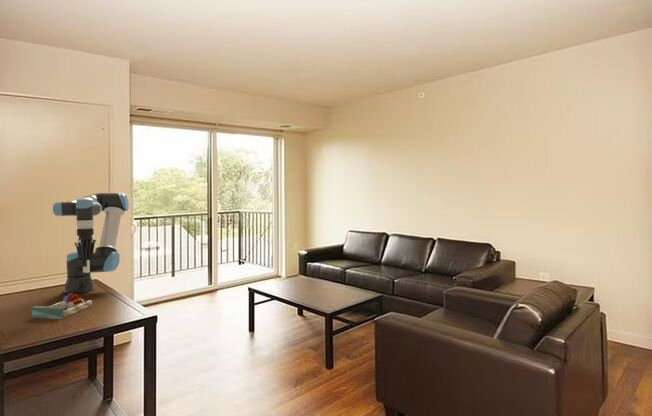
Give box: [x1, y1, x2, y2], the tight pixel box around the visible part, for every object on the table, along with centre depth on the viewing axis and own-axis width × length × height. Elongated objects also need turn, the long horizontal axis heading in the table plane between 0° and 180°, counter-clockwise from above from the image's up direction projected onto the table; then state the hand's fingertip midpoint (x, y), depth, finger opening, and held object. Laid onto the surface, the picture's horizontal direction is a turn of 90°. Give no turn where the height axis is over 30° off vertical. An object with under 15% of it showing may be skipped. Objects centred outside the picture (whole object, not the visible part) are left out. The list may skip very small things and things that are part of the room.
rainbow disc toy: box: [60, 293, 85, 310], centre depth 194 cm, size 8×10×7 cm
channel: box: [31, 300, 93, 320], centre depth 189 cm, size 21×14×5 cm
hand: (86, 272), depth 204 cm, fingers closed
